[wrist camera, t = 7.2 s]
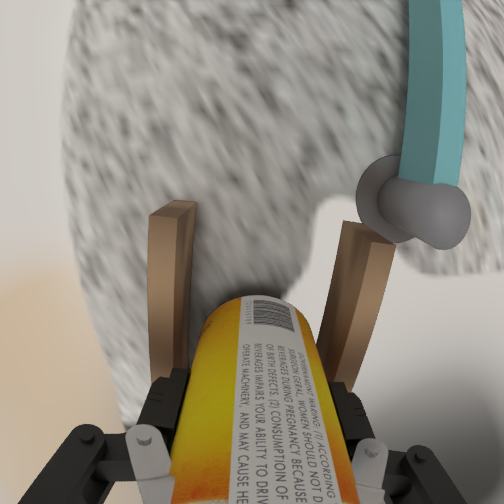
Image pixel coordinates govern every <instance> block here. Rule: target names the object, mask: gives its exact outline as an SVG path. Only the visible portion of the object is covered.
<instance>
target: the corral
mask: <svg viewBox="0 0 504 504" xmlns="http://www.w3.org/2000/svg"><path fill="white" fill-rule="evenodd" d="M400 161H401V156H395V155H392V156H386V157H383V158H381V159H378V160H377V161H375V162H374V163H372V164H371V165H370V166H369V167H368V168H367V169H366V171H365V172H364V174H363V175H362V177H361V179H360V182H359V184H358V188H357V194H356V206H357V211H358V215H359V217H360V220H361V222H362V223H356V222H350V221H343V224H342V230H341V235H340V241H339V245H338V250H337V255H336V261H335V265H334V270H333V275H332V279H331V284H330V289H329V293H328V297H327V302H326V306H325V311H324V315H323V319H322V323H321V327H320V331H319V335H318V339H317V343H316V347H317V351H318V354H319V357H320V360H321V363H322V367H323V370H324V373H325V377H326V380H327V382H344V383H345V386H346V389H347V391H348V392H351V391H352V388H353V386H354V383H355V380H356V378H357V375H358V372H359V370H360V367H361V364H362V361H363V359H364V355H365V353H366V350H367V347H368V344H369V341H370V338H371V335H372V332H373V329H374V325H375V322H376V319H377V316H378V313H379V309H380V306H381V302H382V299H383V295H384V292H385V288H386V284H387V280H388V276H389V272H390V269H391V264H392V261H393V257H394V252H395V248H396V245H395V244H393V243H400V242H405V241H407V240H410V239H412V238H413V237H415V236H413V235H411V234H409V233H407V232H406V231H404V230H402V229H400V228H398V227H396V226H394V225H393V224H391V223H389V222H388V221H386V220H385V219H384V217H383V216H382V214H381V212H380V210H379V205H378V198H379V193H380V190H381V188H382V186H383V185H384V183H385V182H386V181H387V180H389V179H390V178H392V177H394V176H398V175H399V168H400ZM195 213H196V202H189V201H179V200H174V201H172V202H171V203H169V204H167V205H166V206H164V207H162V208H161V209H159V210H157V211H156V212H154V213H152V214H151V215H149V230H148V278H147V285H148V333H149V354H150V370H151V384H152V383H153V382H154V381H155V380H156V379H157V378H159V377H160V376H161V377H167V378H169V376H170V373H171V370H172V368H173V367H175V368H182V369H188V331H189V305H190V285H191V267H192V252H193V238H194V225H195ZM190 372H191V370H190Z"/></svg>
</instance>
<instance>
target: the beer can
mask: <svg viewBox="0 0 504 504" xmlns="http://www.w3.org/2000/svg"><path fill="white" fill-rule="evenodd" d="M170 459H171V462H172V463H171V467H170V472H169V475H170V476H171V475H173V476H174V477H175V484H174V489H173V494H172V499H171V504H360V501H359V497H358V494H357V490H356V485H355V483H356V481H355V477H354V474H353V470H352V466H351V463H350V459H349V455H348V452H347V448H346V445H345V441H344V438H343V434H342V431H341V427H340V424H339V420H338V417H337V413H336V410H335V407H334V403H333V400H332V397H331V393H330V390H329V387H328V383H327V380H326V377H325V373H324V370H323V367H322V363H321V360H320V357H319V354H318V351H317V347H316V344H315V341H314V338H313V335H312V331H311V329H310V326H309V324H308V322H307V320H306V318H305V317H304V316H303V315H302V313H301V312H300V311H299V310H297V309H296V308H295V307H294V306H292V305H291V304H289V303H287V302H285V301H283V300H280V299H278V298H274V297H270V296H263V295H251V296H244V297H239V298H236V299H233V300H231V301H228V302H226V303H224V304H223V305H221V306H220V307H218V308H217V309H216V310H215V311H214V312H212V314H211V315H210V316H209V317H208V318H207V320H206V321H205V323H204V325H203V328H202V331H201V334H200V338H199V342H198V345H197V349H196V353H195V357H194V361H193V364H192V368H191V372H190V376H189V380H188V384H187V388H186V392H185V396H184V400H183V404H182V408H181V412H180V416H179V420H178V424H177V428H176V432H175V436H174V440H173V444H172V449H171V453H170Z"/></svg>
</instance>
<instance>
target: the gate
mask: <svg viewBox="0 0 504 504" xmlns="http://www.w3.org/2000/svg"><path fill="white" fill-rule="evenodd" d="M465 111H466V45H465V30H464V19H463V9H462V1H461V0H409V74H408V92H407V106H406V118H405V128H404V137H403V145H402V153H401V161H400V168H399V175H398V176H394V177H392V178H390V179H389V180H387V181H386V182H385V183H384V185H383V186H382V188H381V190H380V193H379V198H378V205H379V210H380V212H381V214H382V216H383V217H384V219H385V220H386V221H388V222H389V223H391V224H393V225H394V226H396V227H398V228H400V229H402V230H404V231H406V232H407V233H409V234H411V235H413V236H415V237H416V238H418V239H420V240H422V241H423V242H425V243H427V244H429V245H430V246H432V247H434V248H436V249H439V250H447V249H451V248H453V247H455V246H456V245H457V244H459V243H460V242H461V241H462V239H463V238H464V237H465V235H466V233H467V231H468V228H469V225H470V220H471V209H470V204H469V201H468V199H467V197H466V195H465V194H464V192H463V191H462V190H461V189H459V188H458V187H457V186H458V180H459V173H460V166H461V158H462V149H463V139H464V127H465Z"/></svg>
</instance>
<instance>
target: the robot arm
mask: <svg viewBox="0 0 504 504" xmlns="http://www.w3.org/2000/svg"><path fill="white" fill-rule="evenodd" d="M189 376H190V370H188V369H182V368H175V367H173V368H172V370H171V373H170V376H169V378H167V377H161V376H160V377H159V378H157V379H156V380H155V381H154V382H153V383H152V385H151V388H150V390H149V393H148V395H147V399H146V401H145V403H144V406H143V408H142V411H141V414H140V416H139V419H138V422H137V424H136V426H133V427H131V428H130V429H129V430H128V431H127V432H125V433H121V434H104V433H103V431H102V430H101V429H100V428H99V427H97V426H94V425H91V424H83V425H79V426H77V427H75V428H74V429H73V430H72V431H71V433H70V434H69V436H68V437H67V438H66V439H65V441H64V442H63V443H62V444H61V446H60V447H59V449H58V450H57V451H56V453H55V454H54V455H53V456H52V458H51V459H50V460H49V462H48V463H47V464H46V466H45V467H44V468H43V470H42V471H41V473H40V474H39V475H38V476H37V478H36V479H35V480H34V482H33V483H32V485H31V486H30V487H29V489H28V490H27V491H26V493H25V494H24V496H23V497H22V498H21V500H20V501H19V502H18V504H103V503H104V501H105V499H106V498H107V496H108V494H109V492H110V490H111V488H112V487H113V485H114V483H115V481H137V485H138V488H139V491H140V494H141V498H142V501H143V504H171V499H172V494H173V489H174V484H175V477H174V476H173V475H171V476H170V475H169V472H170V467H171V463H172V462H171V459H170V453H171V449H172V444H173V440H174V436H175V432H176V428H177V424H178V420H179V416H180V412H181V408H182V404H183V400H184V396H185V392H186V388H187V384H188V380H189ZM327 383H328V387H329V390H330V393H331V397H332V400H333V403H334V407H335V410H336V413H337V417H338V420H339V424H340V427H341V431H342V434H343V438H344V441H345V445H346V448H347V452H348V455H349V459H350V463H351V466H352V470H353V474H354V477H355V481H356V483H355V485H356V490H357V494H358V497H359V501H360V504H382V503H383V499H384V501H385V503H386V504H467V503H466V501H465V500H464V498H463V497H462V495H461V494H460V492H459V491H458V489H457V488H456V486H455V485H454V483H453V482H452V480H451V479H450V477H449V476H448V474H447V473H446V471H445V470H444V468H443V467H442V465H441V464H440V462H439V461H438V459H437V458H436V456H435V455H434V454H433V452H432V451H431V450H430V449H429V448H427V447H425V446H421V445H415V446H412V447H410V448H409V449H408V451H407V452H399V451H392V450H388V448H387V446H386V445H385V444H384V443H383V442H381V441H380V440H377V439H375V436H374V433H373V431H372V428H371V425H370V423H369V420H368V418H367V416H366V412H365V410H364V407H363V405H362V403H361V400H360V399H359V398H358V397H357V396H356V395H355V394H354V393H353V392H348V391H347V389H346V386H345V383H344V382H327Z"/></svg>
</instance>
